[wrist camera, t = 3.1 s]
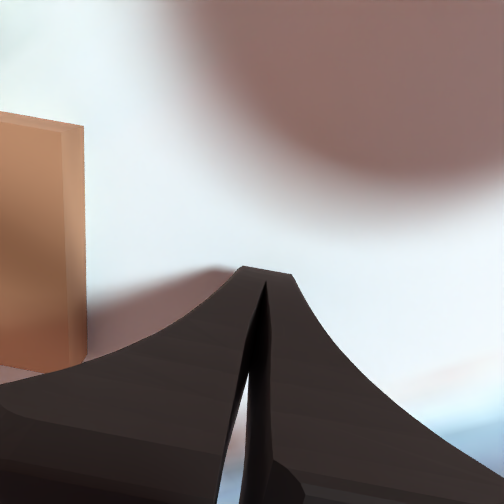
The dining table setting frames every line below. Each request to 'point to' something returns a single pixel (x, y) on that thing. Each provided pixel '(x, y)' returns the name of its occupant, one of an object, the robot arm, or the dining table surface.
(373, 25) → the dining table surface
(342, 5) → the dining table surface
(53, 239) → the tan flat wooden block
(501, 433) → the dining table surface
